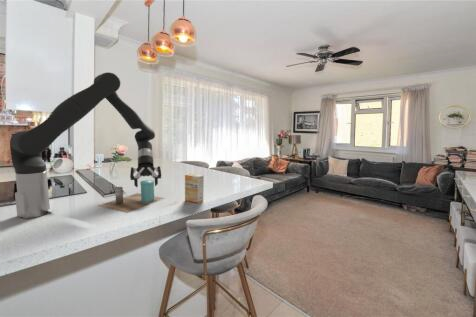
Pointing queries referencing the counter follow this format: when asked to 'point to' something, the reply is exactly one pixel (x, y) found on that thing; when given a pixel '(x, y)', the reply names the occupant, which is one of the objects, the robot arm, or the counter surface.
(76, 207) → the counter surface
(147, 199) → the teal cylinder
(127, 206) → the post stand
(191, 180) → the supplement box
